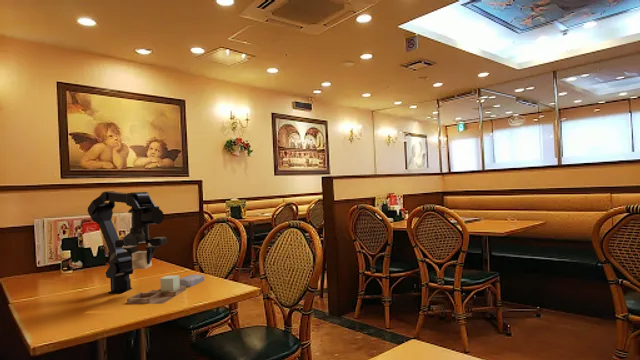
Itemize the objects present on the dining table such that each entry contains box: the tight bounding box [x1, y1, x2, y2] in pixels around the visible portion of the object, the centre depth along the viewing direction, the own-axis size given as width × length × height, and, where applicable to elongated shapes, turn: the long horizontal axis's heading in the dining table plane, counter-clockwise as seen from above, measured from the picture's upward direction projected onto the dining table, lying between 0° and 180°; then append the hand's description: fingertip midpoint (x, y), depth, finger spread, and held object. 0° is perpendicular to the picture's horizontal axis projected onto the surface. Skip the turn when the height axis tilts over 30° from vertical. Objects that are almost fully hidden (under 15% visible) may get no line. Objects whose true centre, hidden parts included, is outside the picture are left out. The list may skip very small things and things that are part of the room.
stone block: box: [179, 274, 206, 288], centre depth 162 cm, size 12×5×10 cm
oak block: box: [132, 250, 153, 270], centre depth 151 cm, size 5×5×6 cm
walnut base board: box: [125, 286, 187, 305], centre depth 144 cm, size 14×18×2 cm
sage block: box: [160, 274, 180, 291], centre depth 148 cm, size 5×5×6 cm
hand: (142, 264), depth 151 cm, fingers closed on oak block, 5 cm apart
